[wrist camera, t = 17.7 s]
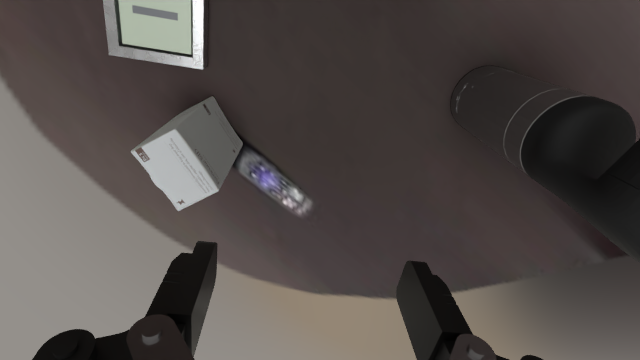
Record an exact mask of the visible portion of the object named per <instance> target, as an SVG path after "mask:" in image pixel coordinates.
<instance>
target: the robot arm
mask: <svg viewBox="0 0 640 360" xmlns="http://www.w3.org/2000/svg"><path fill="white" fill-rule="evenodd" d="M451 112H452V115H453V117H454V119H455V120H456V122H457V123H458V124H460V125H461V126H462V127H464V128H465V129H466V130H468V131H469V132H470V133H471V134H473V135H474V136H475V137H477V138H478V139H479V140H481V141H482V142H483V143H485V144H486V145H487V146H489V147H490V148H491V149H493V150H494V151H496V152H497V153H498V154H500V155H501V156H502V157H504V158H505V159H506V160H508V161H509V162H510V163H512V164H513V165H515V166H516V167H517V168H519V169H520V170H521V171H523V172H524V173H525V174H527V175H528V176H529V177H531V178H532V179H534V180H535V181H536V182H538V183H539V184H541V185H542V186H544V187H545V188H547V189H548V190H549V191H551V192H552V193H554V194H555V195H556V196H558V197H559V198H560V199H562V200H563V201H564V202H566V203H567V204H568V205H569V206H570V207H572V208H573V209H574V210H575V211H576V212H578V213H579V214H580V215H581V216H582V217H584V218H585V219H586V220H587V221H588V222H589V223H590V224H592V225H593V226H594V227H595V228H596V229H597V230H599V231H600V232H601V233H602V234H603V235H604V236H606V237H607V238H608V239H609V240H610V241H612V242H613V243H614V244H615V245H617V246H618V247H619V248H620V249H622V250H623V251H624V252H625V253H627V254H628V255H629V256H631V257H632V258H633V259H635V260H636V261H638V262H639V263H640V139H639V141H637V142H636V143H635V139H636V130H635V125H634V122H633V120H632V118H631V116H630V115H629V113H627V112H626V111H625V110H624V109H623V108H622V107H620V106H618V105H616V104H614V103H612V102H609V101H606V100H603V99H600V98H596V97H592V96H589V95H586V94H583V93H579V92H576V91H573V90H570V89H566V88H563V87H560V86H557V85H554V84H551V83H547V82H544V81H541V80H538V79H535V78H532V77H528V76H525V75H522V74H519V73H516V72H513V71H510V70H507V69H504V68H500V67H496V66H483V67H480V68H477V69H475V70H473V71H471V72H470V73H468V74H467V75H465V76H464V77H463V78H462V79H461V80H460V82H459V83H458V85H457V86H456V87H455V90H454V92H453V94H452V98H451ZM216 269H217V243H215V242H204V241H198V242H197V243H196V246H195V248H194V251H193V253H192V254H190V253H181V254H180V255H179V256H178V257H176V258H175V259H174V260H173V261H172V262H171V265H170V267H169V268H168V271H167V274H166V275H165V277H164V279H163V282H162V283H161V285H160V287H159V289H158V291H157V293H156V296H155V298H154V299H153V301H152V304H151V306H150V308H149V310H148V312H147V314H146V316H145V317H144V318H142V319H140V320H139V321H137V322H136V323H135V324H134V325H133V326H132V327H131V328H130V330H127V331H125V332H122V333H119V334H115V335H111V336H106V337H101V338H96V339H95V338H94V336H93V334H92V333H90V332H89V331H86V330H82V329H74V330H69V331H65V332H62V333H60V334H58V335H56V336H54V337H52V338H51V339H49V340H48V341H47V342H46V343H44V344H43V346H42V347H41V348H40V349H39V350H38V352H37V354H36V355H35V356H34V358H33V359H32V360H194V358H193V357H194V353H195V350H196V347H197V343H198V339H199V336H200V333H201V329H202V326H203V323H204V319H205V316H206V312H207V309H208V306H209V302H210V298H211V295H212V292H213V288H214V285H215V279H216ZM396 296H397V302H398V305H399V308H400V311H401V314H402V317H403V320H404V322H405V326H406V328H407V332H408V334H409V337H410V340H411V343H412V346H413V349H414V352H415V355H416V358H417V360H509V359H506V358H503V357H500V356H498V355H495V353H494V351H493V350H492V348H491V347H490V346H489V345H488V344H487V343H486V342H485V341H484V340H482V339H481V338H479V337H477V336H474V335H473V334H472V332H471V330H470V328H469V326H468V324H467V322H466V321H465V319H464V317H463V315H462V313H461V311H460V309H459V307H458V306H457V305H456V302H455V300H454V298H453V297H452V294H451V292H450V291H449V289H448V287H447V285H446V284H445V283H444V282H443V281H442V280H441V279H440V278H439V277H438V276H437V275H432V273H431V271H430V269H429V267H428V265H427V263H425V262H417V261H407V262H406V264H405V267H404V269H403V272H402V275H401V278H400V280H399V283H398V286H397V292H396ZM521 360H543V359H541V358H539V357H536V356H532V355H526V356H523V357H522V358H521Z"/></svg>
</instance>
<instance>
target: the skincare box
mask: <svg viewBox="0 0 640 360" xmlns="http://www.w3.org/2000/svg"><path fill="white" fill-rule="evenodd" d="M242 146H243V142H242V141H241V139H240V138H239V137H238V136H237V134H236V133H235V131H234V130H233V128H232V127H231V125H230V123H229V122H228V120H227V119H226V117H225V116H224V114H223V112H222V110H221V109H220V107H219V105H218V103H217V101H216V100H215V98H214V97H213V96H211V97H209V98H208V99H206V100H204V101H202V102H200V103H198V104H196V105H194V106H192V107H191V108H189V109H187V110H185V111H183V112H181V113H180V114H178V115H177V116H176V117H174V118H173V119H172V120H170V121H169V122H168V123H167V124H165V125H164V126H163V127H161V128H160V129H159V130H157V131H156V132H155V133H153V134H152V135H151V136H150V137H148V138H147V139H146V140H144V141H143V142H142V143H141V144H139V145H138V146H137V147H135V148H134V149H133V150H131V153H132V154H133V155H134V156H135V157H136V159H137V160H138V161H139V162H140V163H141V165H142V166H143V167H144V168H145V169H146V171H147V172H148V173H149V175H150V177H151V179H152V181H153V182H154V184H155V185H156V186H157V187H158V188H160V189H161V190H162V191H163V192H164V193H165V194H166V195H167V197H168V198H169V199H170V201H171V202H172V203H173V205H174V206H175V208H176V209H177V210H178V211H180V210H182V209H184V208H186V207H188V206H190V205H192V204H194V203H196V202H198V201H200V200H202V199H204V198H206V197H208V196H210V195H212V194H214V193H216V192H218V191H219V189H220V187H221V186H222V184H223V182H224V180H225V178H226V176H227V174H228V172H229V170H230V169H231V167H232V165H233V163H234V161H235V159H236V157H237V155H238V153H239V151H240V149H241V147H242Z"/></svg>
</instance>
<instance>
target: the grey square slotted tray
mask: <svg viewBox="0 0 640 360" xmlns="http://www.w3.org/2000/svg"><path fill="white" fill-rule="evenodd" d="M208 3H209V0H193V54H184V53H178V52H172V51H166V50H160V49H153V48H147V47H141V46H135V45H128V44H122V33H121V22H120V12H119V1H118V0H103V5H104V14H105V23H106V31H107V40H108V49H109V55H113V56H119V57H126V58H132V59H139V60H145V61H151V62H158V63H164V64H171V65H177V66H184V67H190V68H196V69H204V68H206V67H207V66H208Z"/></svg>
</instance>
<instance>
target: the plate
mask: <svg viewBox="0 0 640 360" xmlns="http://www.w3.org/2000/svg"><path fill="white" fill-rule="evenodd" d="M118 1H119V12H120V22H121V33H122V44H128V45H135V46H141V47H147V48H153V49H160V50H166V51H172V52H178V53H184V54H193V0H118Z"/></svg>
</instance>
